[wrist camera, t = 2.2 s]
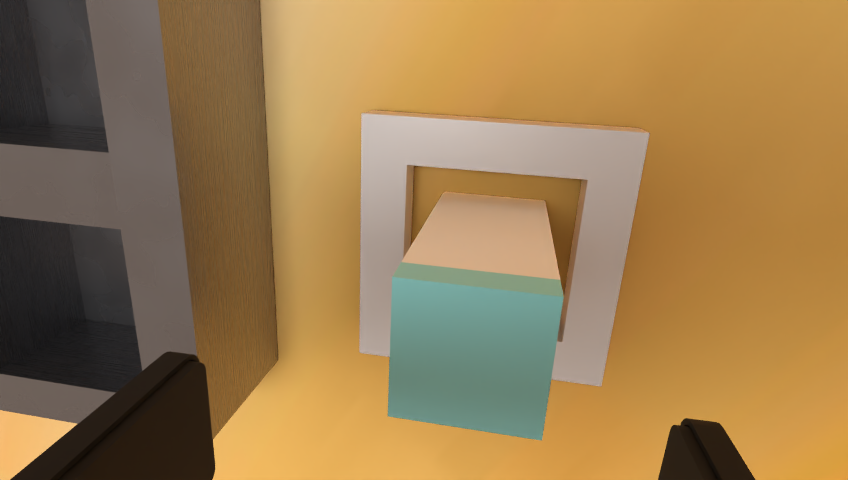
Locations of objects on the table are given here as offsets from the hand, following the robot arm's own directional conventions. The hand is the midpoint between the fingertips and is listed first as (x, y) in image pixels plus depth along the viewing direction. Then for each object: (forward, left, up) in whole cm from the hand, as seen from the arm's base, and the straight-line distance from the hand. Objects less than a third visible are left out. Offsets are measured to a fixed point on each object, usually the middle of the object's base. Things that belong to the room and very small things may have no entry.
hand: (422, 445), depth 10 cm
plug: (-1, 0, -12) cm, 12 cm away
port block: (+14, -3, -12) cm, 19 cm away
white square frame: (-1, 0, -12) cm, 12 cm away
